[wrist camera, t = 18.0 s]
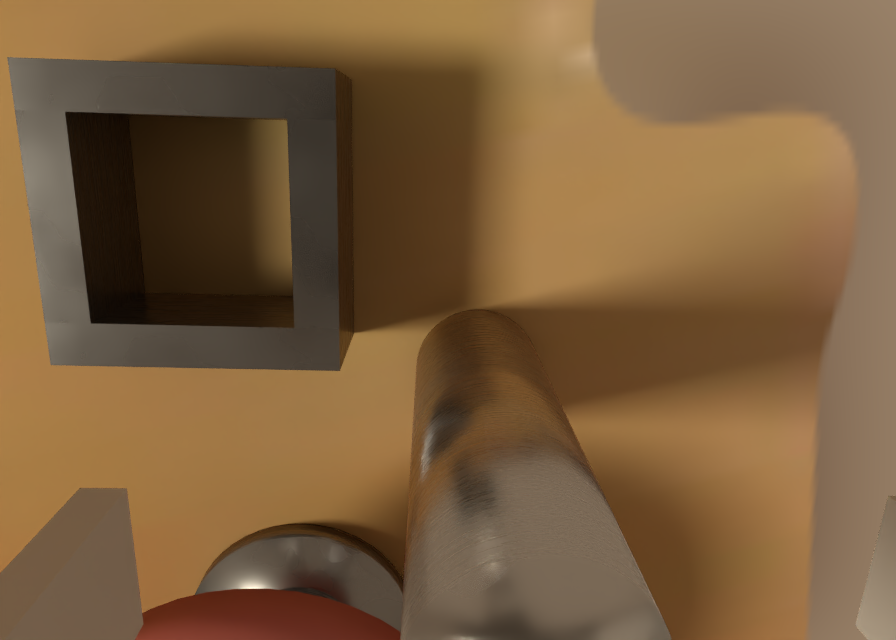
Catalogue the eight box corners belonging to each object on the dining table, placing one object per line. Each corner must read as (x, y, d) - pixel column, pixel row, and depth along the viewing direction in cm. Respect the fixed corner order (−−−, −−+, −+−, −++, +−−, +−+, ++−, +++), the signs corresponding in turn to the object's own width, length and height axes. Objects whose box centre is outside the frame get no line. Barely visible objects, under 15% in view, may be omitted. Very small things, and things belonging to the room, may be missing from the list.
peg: (417, 308, 21) (399, 556, 9) (540, 311, 22) (692, 559, 9) (415, 422, 23) (396, 784, 10) (532, 424, 23) (658, 784, 10)
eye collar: (81, 70, 19) (7, 57, 16) (351, 79, 19) (335, 68, 16) (110, 328, 21) (50, 364, 18) (353, 333, 22) (339, 370, 18)
